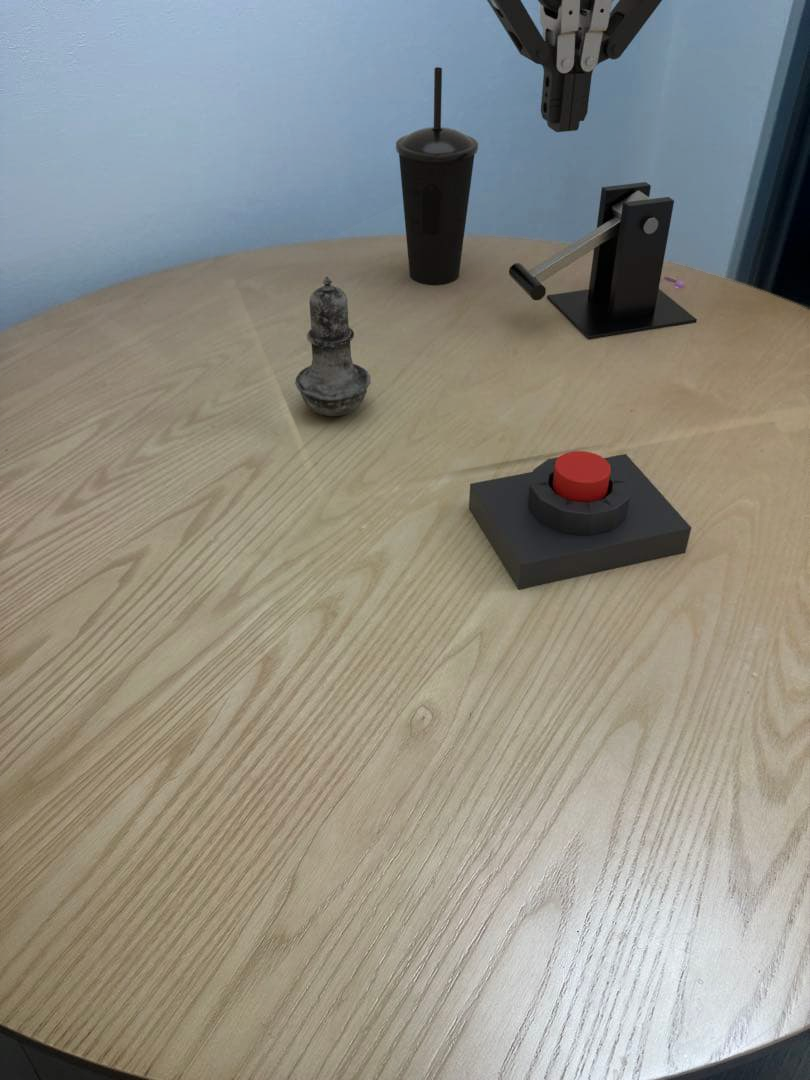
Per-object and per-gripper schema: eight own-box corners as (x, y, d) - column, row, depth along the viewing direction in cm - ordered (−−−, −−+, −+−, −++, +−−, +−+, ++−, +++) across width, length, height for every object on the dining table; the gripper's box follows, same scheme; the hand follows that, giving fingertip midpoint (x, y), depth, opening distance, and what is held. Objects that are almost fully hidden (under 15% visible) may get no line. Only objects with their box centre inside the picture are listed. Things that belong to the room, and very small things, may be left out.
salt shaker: (286, 430, 74) (272, 286, 67) (316, 394, 79) (307, 255, 71) (355, 444, 73) (348, 299, 65) (382, 407, 77) (379, 266, 70)
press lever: (535, 308, 83) (526, 286, 81) (513, 285, 87) (504, 264, 85) (665, 226, 82) (659, 203, 80) (637, 207, 86) (630, 184, 84)
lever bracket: (586, 348, 85) (604, 218, 77) (545, 306, 91) (557, 183, 84) (694, 331, 87) (721, 203, 80) (646, 291, 94) (667, 170, 87)
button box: (621, 478, 69) (629, 432, 67) (685, 553, 63) (697, 505, 60) (468, 508, 66) (470, 461, 64) (518, 590, 60) (523, 541, 57)
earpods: (665, 300, 96) (652, 291, 95) (674, 286, 96) (661, 276, 95) (681, 301, 93) (668, 291, 92) (690, 286, 93) (677, 276, 92)
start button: (592, 468, 64) (595, 446, 63) (617, 498, 61) (620, 476, 60) (543, 477, 63) (546, 455, 62) (566, 508, 60) (569, 486, 59)
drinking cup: (487, 287, 95) (499, 70, 82) (425, 305, 92) (428, 83, 79) (442, 261, 100) (447, 54, 87) (382, 279, 97) (378, 65, 84)
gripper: (511, -189, 49) (491, 153, 60) (733, -190, 52) (675, 136, 63) (464, -192, 55) (453, 121, 66) (666, -193, 58) (624, 107, 69)
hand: (562, 128), depth 65 cm, fingers closed
